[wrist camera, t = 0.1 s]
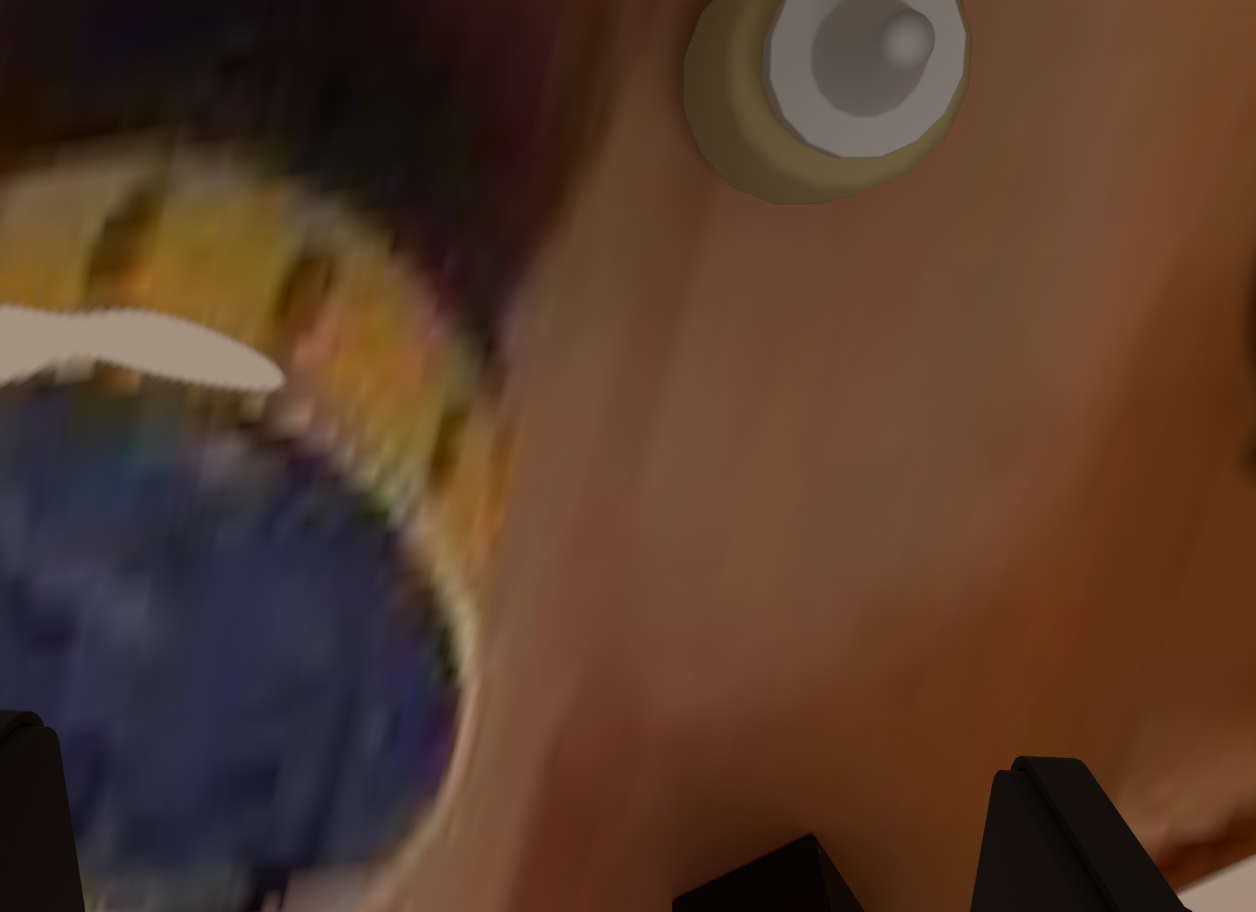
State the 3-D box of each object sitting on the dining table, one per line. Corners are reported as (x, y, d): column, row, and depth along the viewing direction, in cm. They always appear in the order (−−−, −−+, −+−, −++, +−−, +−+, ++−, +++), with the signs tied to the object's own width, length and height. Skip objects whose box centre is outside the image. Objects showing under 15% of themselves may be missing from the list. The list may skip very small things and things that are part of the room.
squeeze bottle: (811, 241, 39) (940, 321, 21) (636, 122, 37) (625, 106, 20) (941, 52, 36) (1200, -27, 19) (760, -80, 35) (865, -290, 18)
